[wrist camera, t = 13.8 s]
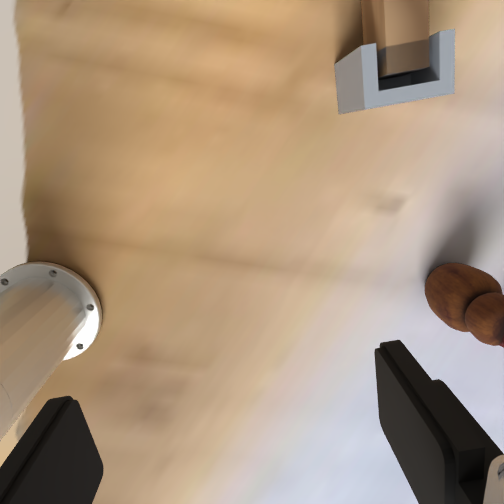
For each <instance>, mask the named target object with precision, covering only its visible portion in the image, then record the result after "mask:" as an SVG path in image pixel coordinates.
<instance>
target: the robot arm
mask: <svg viewBox="0 0 504 504" xmlns="http://www.w3.org/2000/svg"><path fill="white" fill-rule="evenodd" d="M55 271H56V272H55ZM101 323H102V309H101V306H100V302H99V299H98V297H97V295H96V293H95V292H94V290H93V289H92V288H91V286H90V285H89V284H88V283H87V282H86V281H85V280H84V279H83V278H82V277H81V276H80V275H78V274H76V273H75V272H73V271H72V270H70V269H68V268H66V267H63V266H61V265H58V264H54V263H50V262H40V261H38V262H28V263H24V264H20V265H17V266H16V267H13V268H12V269H10V270H8V271H7V272H5V273H3V274H2V275H1V276H0V441H1V439H2V438H3V437H4V436H5V434H6V433H7V432H8V430H9V429H10V428H11V426H12V425H13V424H14V423H15V421H16V420H17V419H18V417H19V416H20V415H21V413H22V412H23V411H24V410H25V408H26V407H27V406H28V404H29V403H30V402H31V400H32V399H33V398H34V397H35V395H36V394H37V393H38V391H39V390H40V389H41V387H42V386H43V385H44V384H45V382H46V381H47V380H48V378H49V377H50V376H51V374H52V373H53V372H54V371H55V369H56V368H57V367H58V365H59V364H60V363H61V361H63V360H67V359H71V358H73V357H75V356H77V355H80V354H81V353H82V352H84V351H85V350H86V349H88V347H89V346H90V345H91V344H92V343H93V341H94V340H95V338H96V337H97V335H98V333H99V331H100V328H101ZM375 365H376V379H377V393H378V407H379V419H380V424H381V427H382V429H383V432H384V434H385V436H386V438H387V440H388V442H389V444H390V446H391V448H392V450H393V452H394V454H395V456H396V458H397V460H398V462H399V464H400V466H401V468H402V470H403V472H404V474H405V476H406V478H407V480H408V482H409V484H410V486H411V488H412V490H413V493H414V495H415V497H416V499H417V501H418V503H419V504H504V454H503V452H502V451H501V450H500V449H499V448H498V446H497V445H496V444H495V443H494V442H493V440H492V439H491V438H490V437H489V436H488V434H487V433H486V432H485V431H484V430H483V428H482V427H481V426H480V425H479V424H478V422H477V421H476V420H475V419H474V418H473V416H472V415H471V414H470V413H469V412H468V410H467V409H466V408H465V407H464V406H463V404H462V403H461V402H460V401H459V400H458V399H457V397H456V396H455V395H454V394H453V393H452V391H451V390H450V389H449V388H448V387H447V385H446V384H445V383H444V382H443V381H441V380H439V379H438V380H431V378H430V377H429V376H428V374H427V373H426V372H425V371H424V369H423V368H422V367H421V366H420V364H419V363H418V362H417V361H416V359H415V358H414V357H413V356H412V354H411V353H410V352H409V351H408V349H407V348H406V347H405V345H404V344H403V343H402V342H401V341H400V340H395V341H389V342H383V343H380V348H377V349H375ZM102 476H103V463H102V460H101V458H100V455H99V453H98V450H97V448H96V445H95V443H94V440H93V438H92V435H91V433H90V430H89V427H88V425H87V422H86V420H85V417H84V415H83V412H82V410H81V407H80V405H79V403H78V401H77V400H73V398H72V397H71V396H65V397H59V398H53V399H50V400H48V401H47V402H46V404H45V405H44V406H43V408H42V409H41V411H40V412H39V413H38V415H37V416H36V418H35V419H34V421H33V422H32V423H31V425H30V426H29V428H28V429H27V430H26V432H25V433H24V435H23V436H22V437H21V439H20V440H19V442H18V443H17V445H16V446H15V447H14V449H13V450H12V452H11V453H10V454H9V456H8V457H7V459H6V460H5V461H4V463H3V464H2V466H1V467H0V504H92V502H93V500H94V497H95V495H96V492H97V489H98V487H99V484H100V482H101V479H102Z"/></svg>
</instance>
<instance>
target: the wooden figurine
mask: <svg viewBox="0 0 504 504" xmlns="http://www.w3.org/2000/svg"><path fill="white" fill-rule="evenodd" d="M425 295H426V298H427V301H428V304H429V306H430V308H431V309H432V311H433V312H434V313H435V314H436V315H437V316H438V317H439V318H440V319H441V320H442V321H444V322H445V323H446V324H447V325H448V326H449V327H451V328H453V329H455V330H459V331H462V332H471V333H472V334H473V335H474V336H475V338H476V339H478V340H479V341H480V342H483V343H485V344H489V345H493V346H497V345H500V346H502V347H504V295H503V294H502V289H501V286H500V284H499V283H498V281H496V280H495V279H494V278H493V277H492V276H491V275H489V274H487V273H486V272H484V271H481V270H479V269H477V268H474V267H471V266H468V265H465V264H460V263H447V264H443V265H441V266H439V267H437V268H436V269H435V270H434V271H432V273H431V274H430V275H429V277H428V278H427V281H426V284H425Z"/></svg>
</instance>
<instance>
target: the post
mask: <svg viewBox="0 0 504 504" xmlns="http://www.w3.org/2000/svg"><path fill="white" fill-rule="evenodd" d="M334 65H335V77H336V88H337V100H338V111H339V114H344V113H349V112H355V111H360V110H366V109H372V108H377V107H383V106H388V105H394V104H400V103H405V102H411V101H416V100H421V99H427V98H432V97H438V96H443V95H448V94H454V72H455V29H450V30H445V31H439V32H437V33H435V34H433V35H431V36H430V37H429V67H427V68H424V69H421V70H419V71H416V72H413V73H410V74H407V75H404V76H401V77H395V78H389V79H384V80H378V70H377V51H376V43H373V44H367V45H362V46H360V47H358V48H357V49H355V50H354V51H353V52H351V53H350V54H348V55H347V56H346V57H344V58H343V59H341V60H340V61H339V62H337V63H336V64H334Z"/></svg>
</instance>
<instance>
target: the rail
mask: <svg viewBox="0 0 504 504" xmlns="http://www.w3.org/2000/svg"><path fill="white" fill-rule="evenodd" d="M361 10H362V26H363V42H364V45H367V44H373V43H376V51H377V70H378V80H384V79H389V78H395V77H401V76H404V75H407V74H410V73H413V72H416V71H419V70H421V69H424V68H427V67H429V0H361Z"/></svg>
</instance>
